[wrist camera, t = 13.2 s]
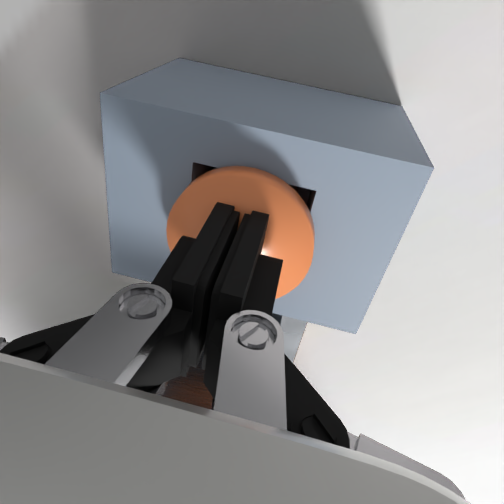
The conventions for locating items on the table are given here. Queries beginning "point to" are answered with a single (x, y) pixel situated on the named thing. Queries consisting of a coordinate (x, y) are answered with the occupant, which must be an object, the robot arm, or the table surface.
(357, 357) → the table surface
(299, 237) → the button
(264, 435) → the robot arm
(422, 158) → the button housing
